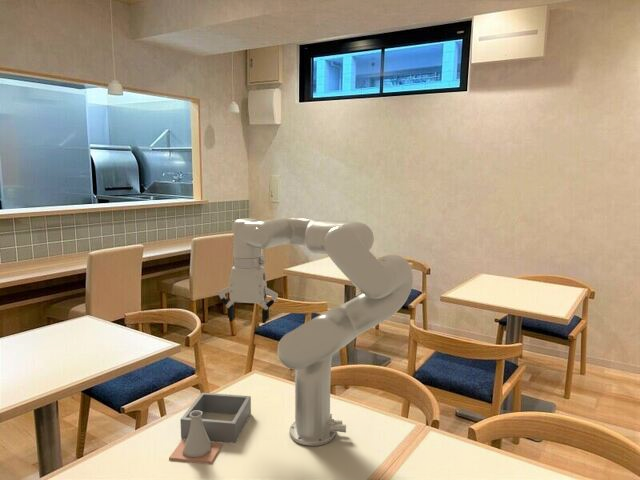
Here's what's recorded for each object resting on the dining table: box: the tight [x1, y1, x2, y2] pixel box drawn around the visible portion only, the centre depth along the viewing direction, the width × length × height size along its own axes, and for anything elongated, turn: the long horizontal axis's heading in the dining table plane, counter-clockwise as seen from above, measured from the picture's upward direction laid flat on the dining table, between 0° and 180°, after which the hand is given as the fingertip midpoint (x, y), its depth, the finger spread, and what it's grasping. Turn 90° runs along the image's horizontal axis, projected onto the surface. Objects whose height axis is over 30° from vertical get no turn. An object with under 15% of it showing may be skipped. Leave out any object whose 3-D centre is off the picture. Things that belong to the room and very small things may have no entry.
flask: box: [182, 410, 212, 457], centre depth 118 cm, size 7×7×10 cm
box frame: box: [179, 392, 252, 444], centre depth 131 cm, size 15×15×6 cm
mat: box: [168, 438, 224, 465], centre depth 119 cm, size 11×8×1 cm
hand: (248, 320), depth 134 cm, fingers open, 9 cm apart
